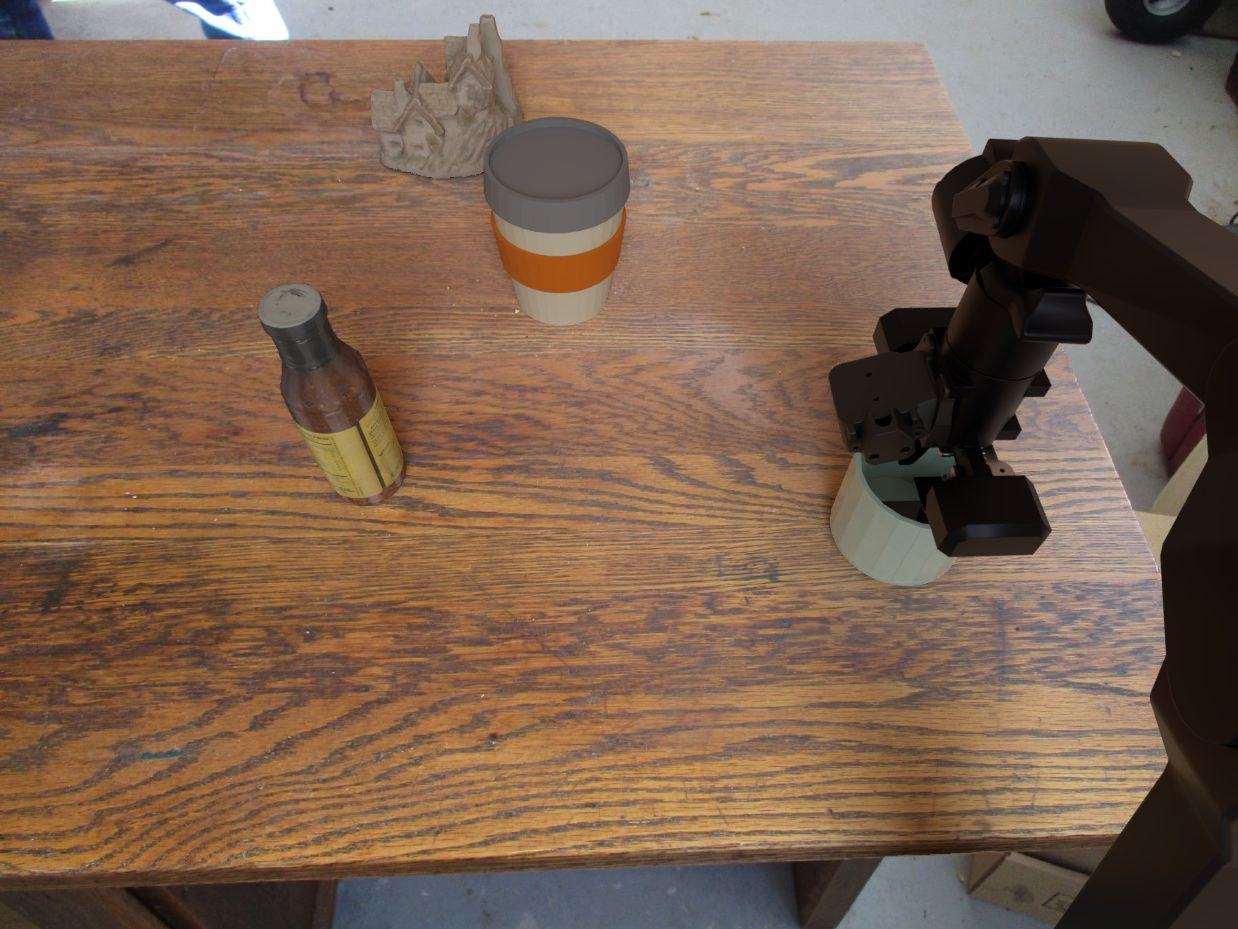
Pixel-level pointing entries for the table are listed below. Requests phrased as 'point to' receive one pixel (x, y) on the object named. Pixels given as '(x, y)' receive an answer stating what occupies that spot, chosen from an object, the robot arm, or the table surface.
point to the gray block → (904, 508)
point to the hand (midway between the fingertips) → (913, 493)
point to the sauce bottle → (332, 397)
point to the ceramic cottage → (448, 108)
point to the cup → (888, 521)
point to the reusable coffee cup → (558, 213)
